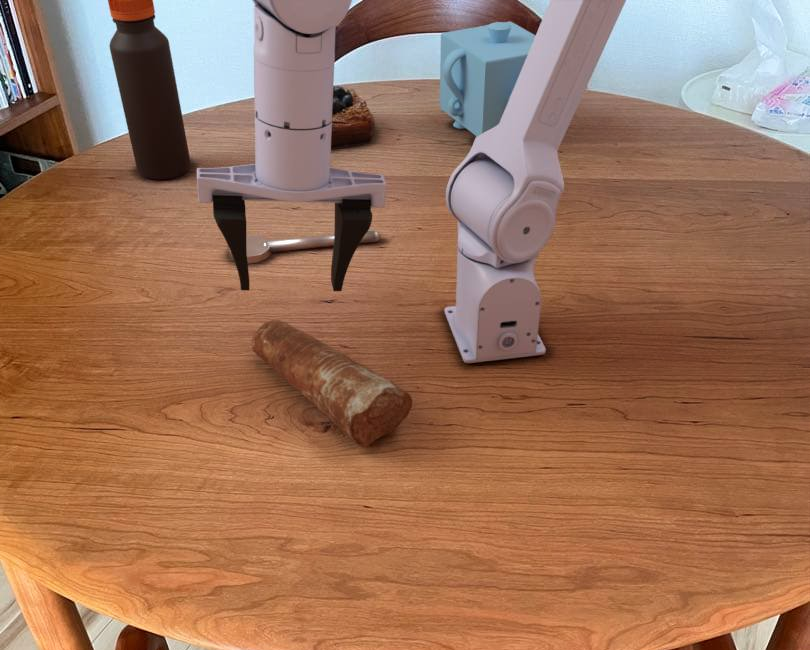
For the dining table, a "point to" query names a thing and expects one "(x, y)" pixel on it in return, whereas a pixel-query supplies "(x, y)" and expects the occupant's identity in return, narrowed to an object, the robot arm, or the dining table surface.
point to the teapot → (481, 72)
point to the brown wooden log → (333, 382)
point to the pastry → (350, 119)
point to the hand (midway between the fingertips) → (290, 285)
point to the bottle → (148, 91)
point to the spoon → (292, 245)
